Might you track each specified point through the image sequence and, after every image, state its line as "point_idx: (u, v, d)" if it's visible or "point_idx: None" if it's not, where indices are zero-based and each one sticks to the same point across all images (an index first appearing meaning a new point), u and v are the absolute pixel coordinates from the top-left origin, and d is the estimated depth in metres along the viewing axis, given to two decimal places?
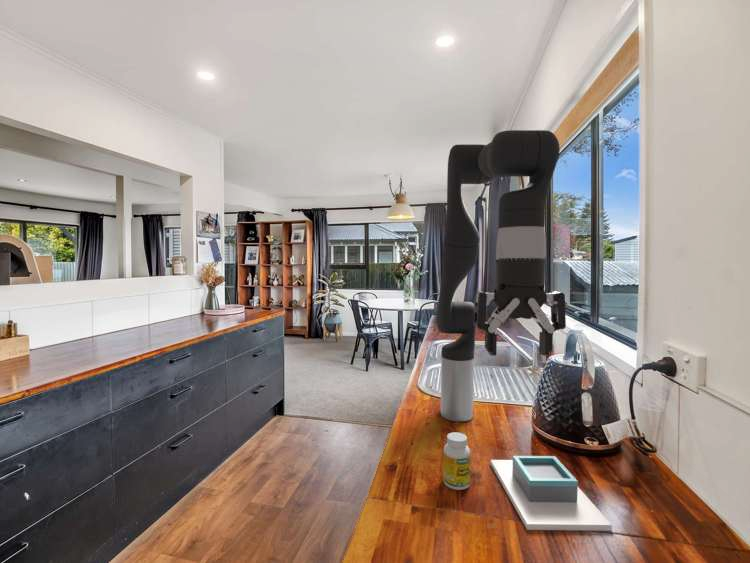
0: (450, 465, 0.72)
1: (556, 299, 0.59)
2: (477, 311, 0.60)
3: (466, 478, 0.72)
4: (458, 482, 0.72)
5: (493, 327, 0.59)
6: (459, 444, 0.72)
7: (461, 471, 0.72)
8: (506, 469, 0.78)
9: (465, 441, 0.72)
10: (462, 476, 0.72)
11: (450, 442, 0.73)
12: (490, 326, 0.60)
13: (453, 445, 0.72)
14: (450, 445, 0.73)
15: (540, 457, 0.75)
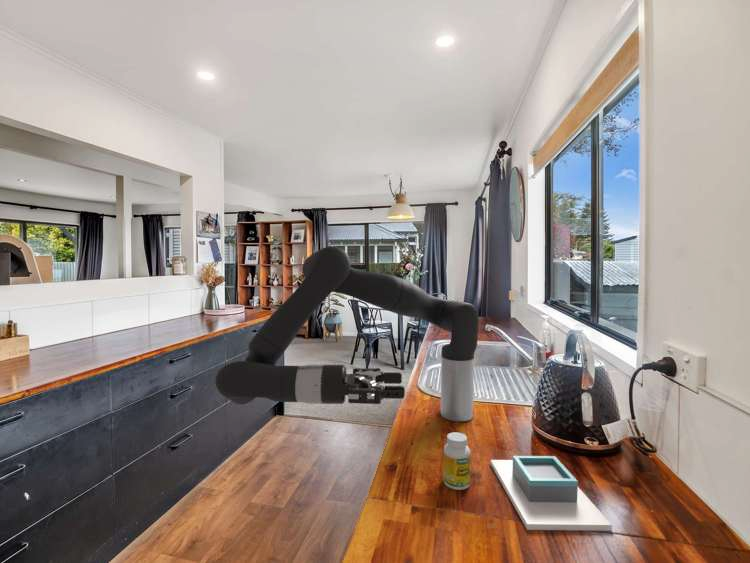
0: (450, 464, 0.72)
1: None
2: None
3: (466, 478, 0.72)
4: (458, 482, 0.72)
5: None
6: (459, 444, 0.72)
7: (461, 471, 0.72)
8: (506, 469, 0.78)
9: (465, 441, 0.72)
10: (462, 476, 0.72)
11: (450, 442, 0.73)
12: None
13: (453, 445, 0.72)
14: (450, 445, 0.73)
15: (540, 457, 0.75)
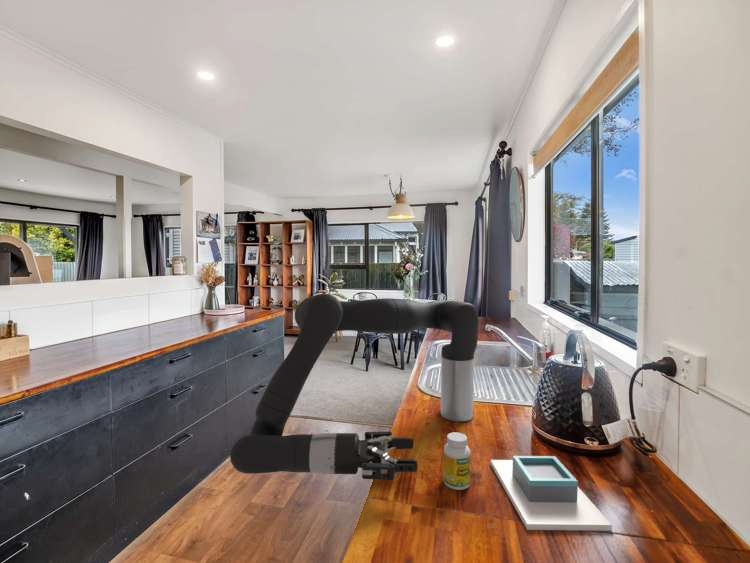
0: (450, 464, 0.72)
1: None
2: None
3: (466, 478, 0.72)
4: (458, 482, 0.72)
5: None
6: (459, 444, 0.72)
7: (461, 471, 0.72)
8: (506, 469, 0.78)
9: (465, 441, 0.72)
10: (462, 476, 0.72)
11: (450, 442, 0.73)
12: None
13: (453, 445, 0.72)
14: (450, 445, 0.73)
15: (540, 457, 0.75)
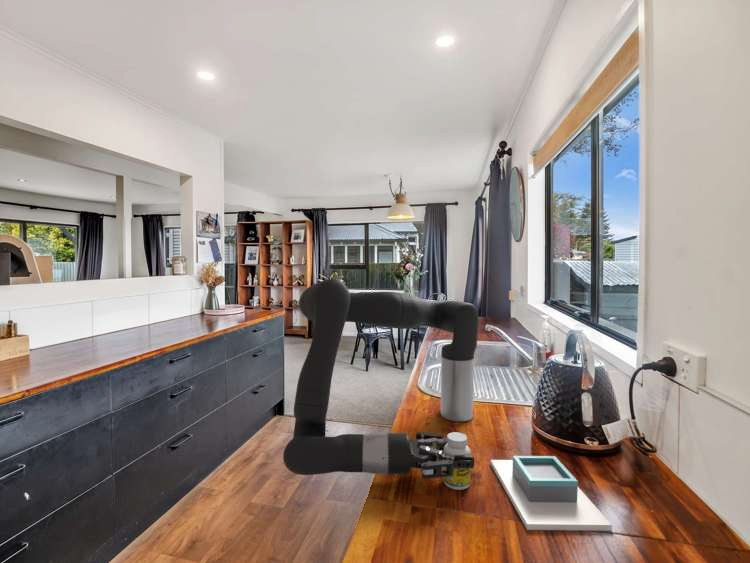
0: None
1: None
2: None
3: (466, 478, 0.72)
4: (458, 482, 0.72)
5: (443, 451, 0.77)
6: (459, 444, 0.72)
7: (461, 471, 0.72)
8: (506, 469, 0.78)
9: (465, 441, 0.72)
10: (462, 475, 0.72)
11: (450, 442, 0.73)
12: None
13: (453, 444, 0.72)
14: (450, 445, 0.73)
15: (540, 457, 0.75)
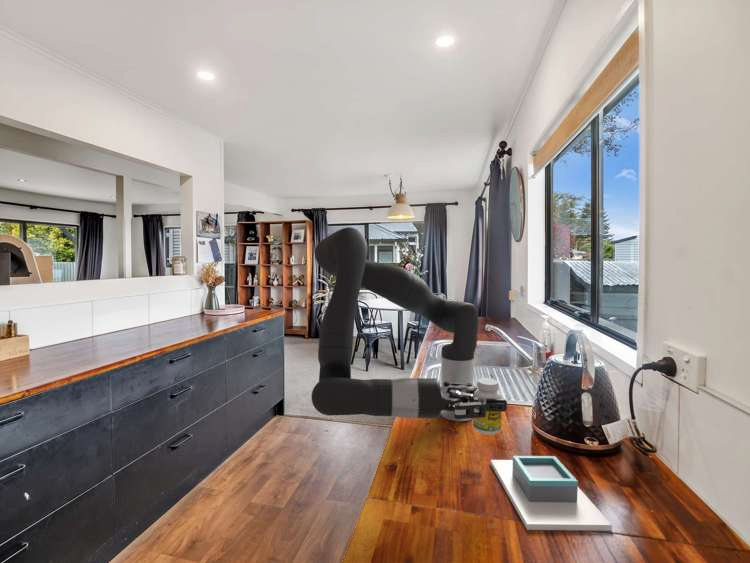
0: None
1: None
2: None
3: (498, 422, 0.70)
4: (489, 426, 0.70)
5: None
6: (491, 388, 0.70)
7: (492, 415, 0.70)
8: (506, 469, 0.78)
9: (497, 385, 0.71)
10: (494, 420, 0.70)
11: (481, 386, 0.71)
12: None
13: (484, 388, 0.71)
14: (481, 389, 0.71)
15: (540, 457, 0.75)
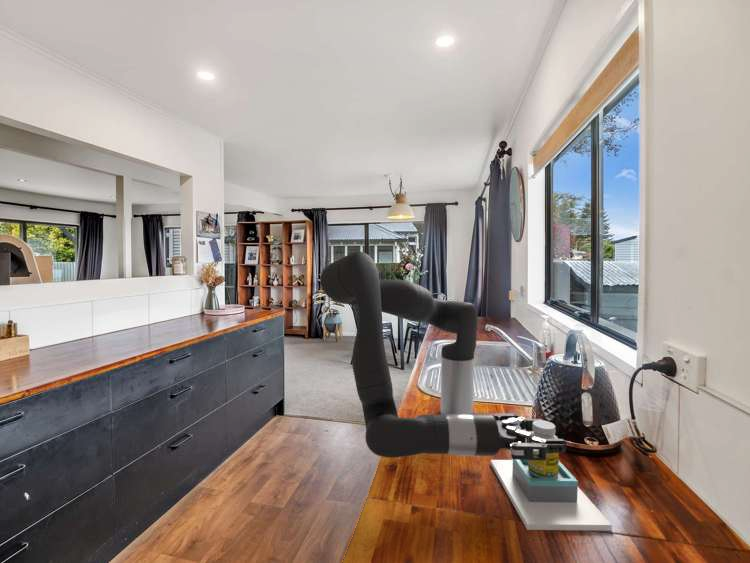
0: None
1: None
2: None
3: (556, 467, 0.69)
4: (548, 472, 0.68)
5: (520, 430, 0.75)
6: (549, 432, 0.68)
7: (551, 460, 0.68)
8: (506, 469, 0.78)
9: (554, 429, 0.69)
10: (552, 465, 0.68)
11: (538, 429, 0.69)
12: None
13: (542, 432, 0.69)
14: (538, 433, 0.69)
15: None
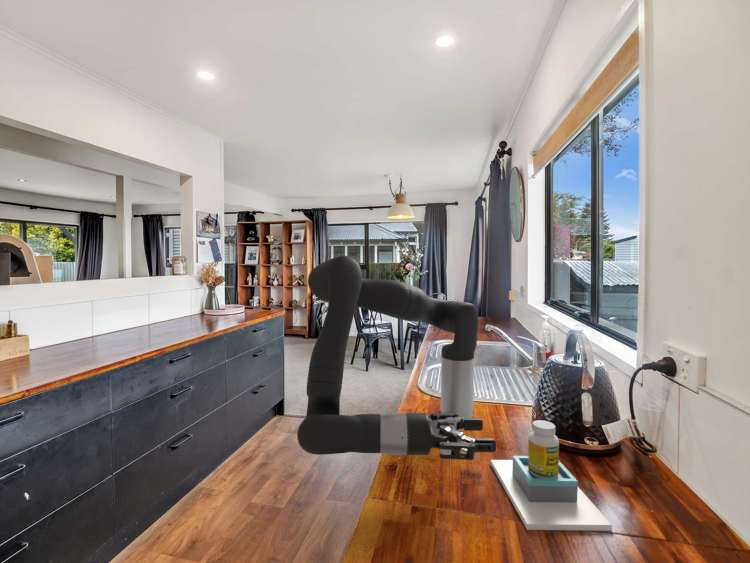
0: (539, 453, 0.69)
1: None
2: None
3: (556, 467, 0.69)
4: (548, 472, 0.68)
5: None
6: (549, 432, 0.68)
7: (551, 460, 0.68)
8: (506, 469, 0.78)
9: (554, 429, 0.69)
10: (552, 465, 0.68)
11: (538, 430, 0.69)
12: None
13: (542, 432, 0.69)
14: (538, 433, 0.69)
15: None
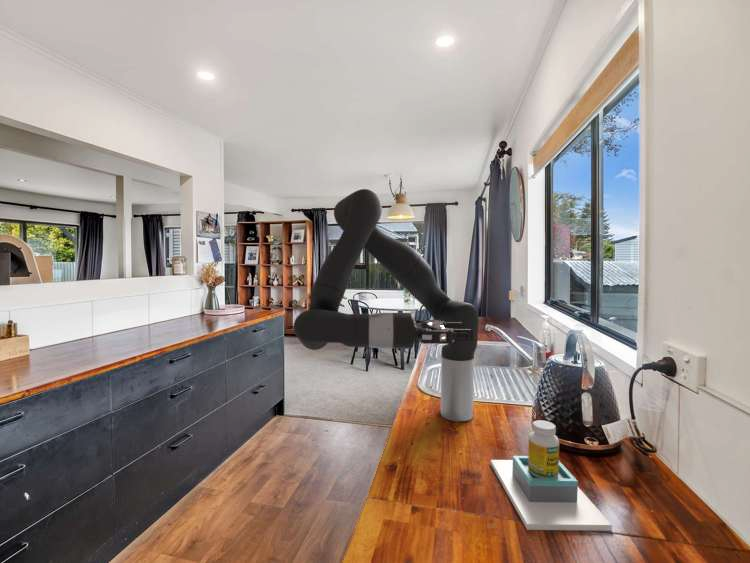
0: (539, 453, 0.69)
1: None
2: None
3: (556, 467, 0.69)
4: (548, 472, 0.68)
5: None
6: (549, 432, 0.68)
7: (551, 460, 0.68)
8: (506, 469, 0.78)
9: (554, 429, 0.69)
10: (553, 465, 0.68)
11: (538, 430, 0.69)
12: None
13: (542, 433, 0.69)
14: (538, 433, 0.69)
15: None
